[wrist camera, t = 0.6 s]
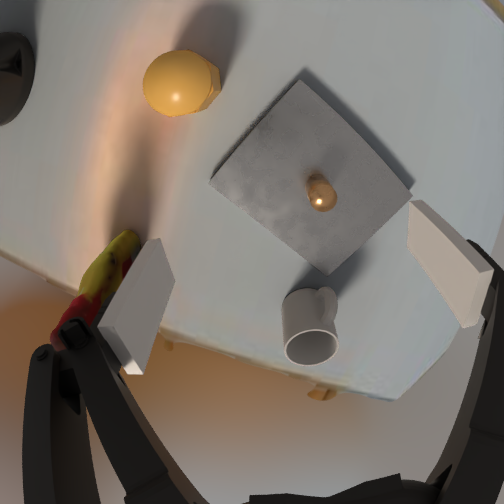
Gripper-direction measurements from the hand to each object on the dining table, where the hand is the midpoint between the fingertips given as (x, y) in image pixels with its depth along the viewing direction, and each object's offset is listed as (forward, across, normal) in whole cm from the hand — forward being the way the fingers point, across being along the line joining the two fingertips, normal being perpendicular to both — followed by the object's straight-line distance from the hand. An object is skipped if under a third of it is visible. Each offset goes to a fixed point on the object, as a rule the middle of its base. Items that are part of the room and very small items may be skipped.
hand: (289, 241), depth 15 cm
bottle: (+23, -23, -11) cm, 34 cm away
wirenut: (+23, -8, +10) cm, 26 cm away
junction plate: (+22, +5, -5) cm, 23 cm away
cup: (+22, +2, -22) cm, 32 cm away
